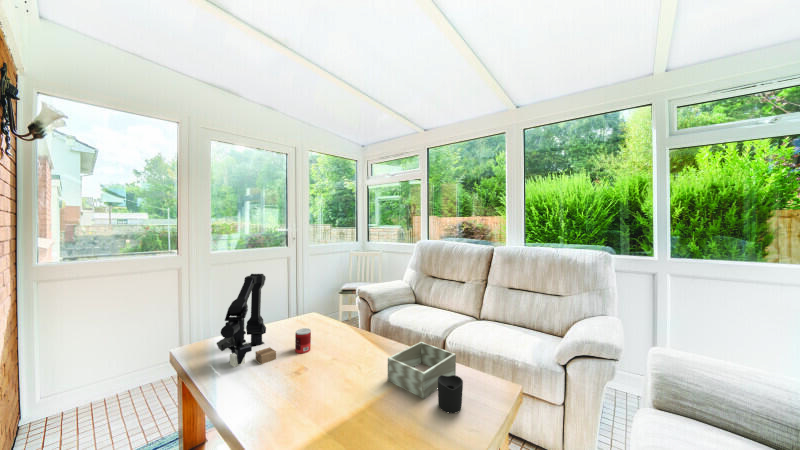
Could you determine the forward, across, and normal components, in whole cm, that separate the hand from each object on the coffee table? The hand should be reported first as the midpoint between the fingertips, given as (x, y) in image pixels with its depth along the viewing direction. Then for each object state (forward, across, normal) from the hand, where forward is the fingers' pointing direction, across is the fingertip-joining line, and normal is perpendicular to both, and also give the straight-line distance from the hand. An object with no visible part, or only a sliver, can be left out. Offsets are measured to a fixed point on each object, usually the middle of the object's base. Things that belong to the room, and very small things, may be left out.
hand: (237, 362), depth 141 cm
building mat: (+1, +6, +11) cm, 13 cm away
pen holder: (+1, +93, +42) cm, 102 cm away
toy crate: (+1, +73, +51) cm, 89 cm away
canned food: (+1, +10, +29) cm, 31 cm away
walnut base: (0, +6, +11) cm, 13 cm away
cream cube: (+1, 0, 0) cm, 1 cm away
